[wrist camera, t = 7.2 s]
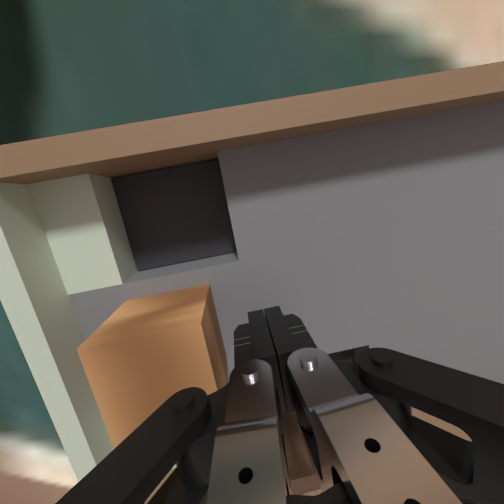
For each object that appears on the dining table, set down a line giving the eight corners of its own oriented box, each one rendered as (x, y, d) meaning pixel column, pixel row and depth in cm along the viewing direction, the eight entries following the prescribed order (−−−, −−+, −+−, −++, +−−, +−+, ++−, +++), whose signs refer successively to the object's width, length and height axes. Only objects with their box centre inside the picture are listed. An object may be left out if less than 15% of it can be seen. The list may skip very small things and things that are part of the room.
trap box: (517, 87, 14) (647, 37, 10) (504, 366, 18) (593, 420, 14) (37, 170, 13) (-62, 155, 8) (137, 452, 17) (104, 542, 12)
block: (209, 283, 12) (200, 323, 8) (226, 355, 13) (225, 422, 9) (125, 300, 12) (76, 349, 8) (148, 372, 13) (114, 448, 9)
